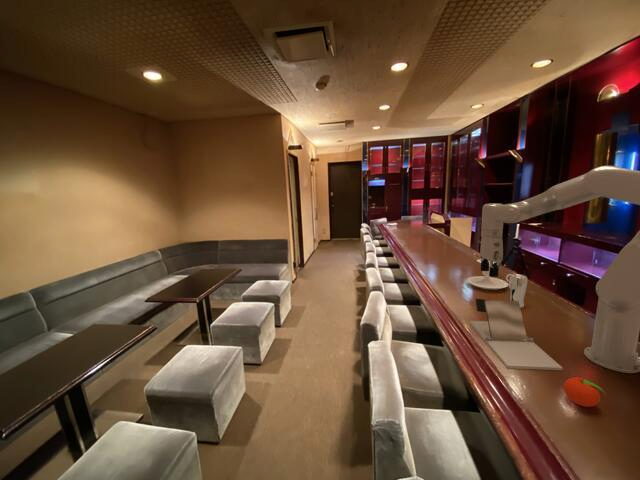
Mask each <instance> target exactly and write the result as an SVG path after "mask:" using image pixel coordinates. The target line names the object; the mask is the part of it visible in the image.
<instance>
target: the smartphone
mask: <svg viewBox="0 0 640 480" xmlns="http://www.w3.org/2000/svg"><path fill="white" fill-rule="evenodd" d="M484 301H491V300H490V299H484V298H483V299H482V298H475V303H476V311H477V312H482V313H486V308H485V303H484Z"/></svg>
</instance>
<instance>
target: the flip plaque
mask: <svg viewBox="0 0 640 480" xmlns="http://www.w3.org/2000/svg"><path fill="white" fill-rule="evenodd" d="M484 303H485V308H486V312H485V313H486V319H487V320H486V321H488V325H489V331H490V336H491V338H512V339H527V337H528V336H527V331H526V328H525V323H524V319H523V314H522V310H521V309H522V308H520V305H519V301H510V300H490V301H484Z"/></svg>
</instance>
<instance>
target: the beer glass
mask: <svg viewBox="0 0 640 480" xmlns="http://www.w3.org/2000/svg"><path fill="white" fill-rule="evenodd" d="M511 274H512V275H510V276H509V283H508V284H509V285H508V287H509V301H519V305H520V309H522V308H524V307H525V303H524V299H525V296H526V292H527V288H528V277H527V276H526V275H524V274H519V273H518V274H517V273H511Z"/></svg>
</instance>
